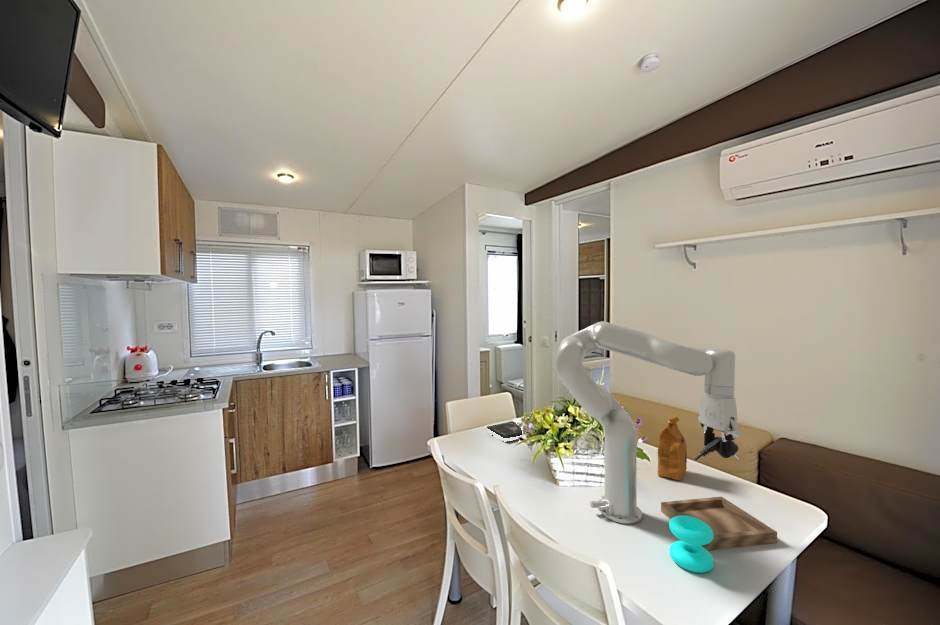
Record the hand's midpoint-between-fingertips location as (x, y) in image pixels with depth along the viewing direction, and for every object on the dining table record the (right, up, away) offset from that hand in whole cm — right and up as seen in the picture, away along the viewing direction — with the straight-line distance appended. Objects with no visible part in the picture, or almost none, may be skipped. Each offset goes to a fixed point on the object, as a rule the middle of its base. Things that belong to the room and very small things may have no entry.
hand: (717, 449), depth 114 cm
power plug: (0, -4, +1) cm, 4 cm away
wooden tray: (-1, -23, 0) cm, 23 cm away
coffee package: (+5, -22, +34) cm, 41 cm away
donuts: (-17, -24, -16) cm, 33 cm away
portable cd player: (-54, -23, +81) cm, 100 cm away
